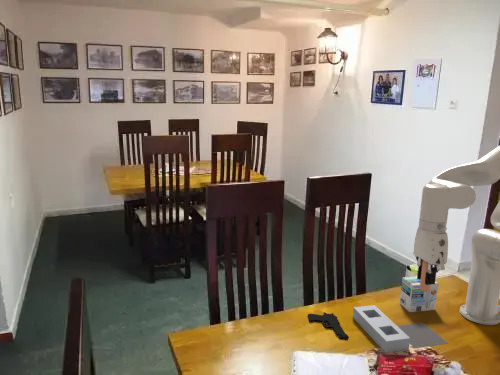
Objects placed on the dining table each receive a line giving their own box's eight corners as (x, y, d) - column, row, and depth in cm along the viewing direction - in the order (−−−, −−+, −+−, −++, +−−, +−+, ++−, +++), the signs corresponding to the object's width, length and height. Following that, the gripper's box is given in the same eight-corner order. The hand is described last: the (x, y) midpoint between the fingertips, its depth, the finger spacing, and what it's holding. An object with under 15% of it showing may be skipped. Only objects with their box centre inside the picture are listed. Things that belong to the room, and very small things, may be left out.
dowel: (425, 286, 124) (429, 257, 122) (432, 291, 121) (435, 261, 119) (417, 287, 123) (420, 258, 121) (423, 292, 120) (427, 262, 118)
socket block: (373, 315, 137) (374, 305, 136) (408, 349, 118) (410, 338, 117) (352, 317, 135) (353, 307, 134) (385, 353, 116) (386, 341, 115)
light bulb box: (409, 313, 139) (412, 285, 137) (398, 303, 145) (401, 277, 143) (435, 310, 141) (439, 282, 139) (424, 301, 148) (427, 274, 145)
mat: (422, 323, 133) (423, 322, 133) (448, 344, 121) (448, 343, 121) (391, 327, 130) (391, 326, 130) (414, 349, 118) (414, 348, 118)
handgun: (306, 312, 137) (333, 311, 138) (306, 315, 137) (333, 314, 138) (319, 339, 121) (350, 337, 123) (318, 342, 122) (349, 340, 123)
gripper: (463, 233, 111) (455, 292, 115) (425, 216, 126) (419, 269, 130) (440, 234, 109) (433, 295, 113) (404, 218, 125) (399, 271, 129)
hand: (425, 280), depth 122 cm, fingers closed on dowel, 3 cm apart
